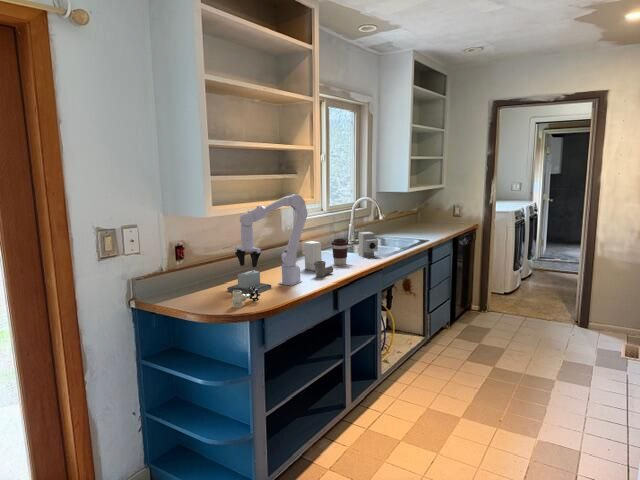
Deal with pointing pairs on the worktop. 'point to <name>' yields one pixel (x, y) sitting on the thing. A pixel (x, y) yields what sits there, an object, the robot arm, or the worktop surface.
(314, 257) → the skincare box
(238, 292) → the valve
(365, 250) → the circuit breaker
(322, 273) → the pipe
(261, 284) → the shallow gray tray
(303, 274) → the worktop surface
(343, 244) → the coffee cup
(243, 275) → the block
